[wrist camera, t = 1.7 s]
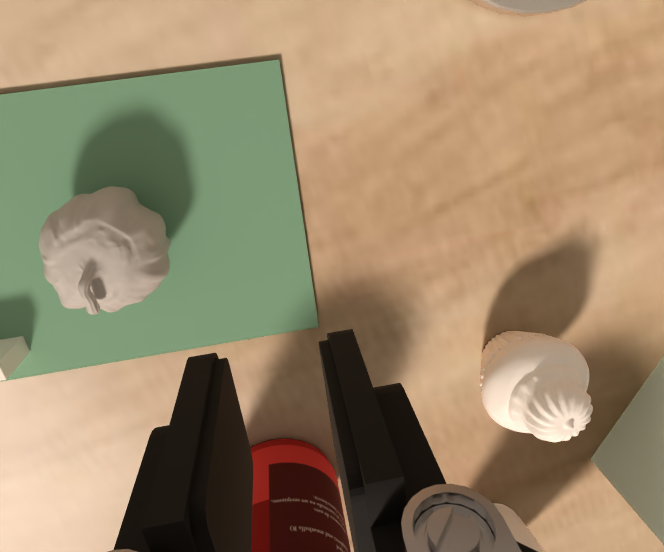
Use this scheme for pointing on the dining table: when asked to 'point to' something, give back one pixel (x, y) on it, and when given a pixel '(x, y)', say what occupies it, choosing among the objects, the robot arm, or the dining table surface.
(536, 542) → the foam cup
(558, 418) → the muffin
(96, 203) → the garlic
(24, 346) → the white u-shaped frame
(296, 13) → the dining table surface
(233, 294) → the felt mat
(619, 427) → the right angle wall
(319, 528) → the canned food
